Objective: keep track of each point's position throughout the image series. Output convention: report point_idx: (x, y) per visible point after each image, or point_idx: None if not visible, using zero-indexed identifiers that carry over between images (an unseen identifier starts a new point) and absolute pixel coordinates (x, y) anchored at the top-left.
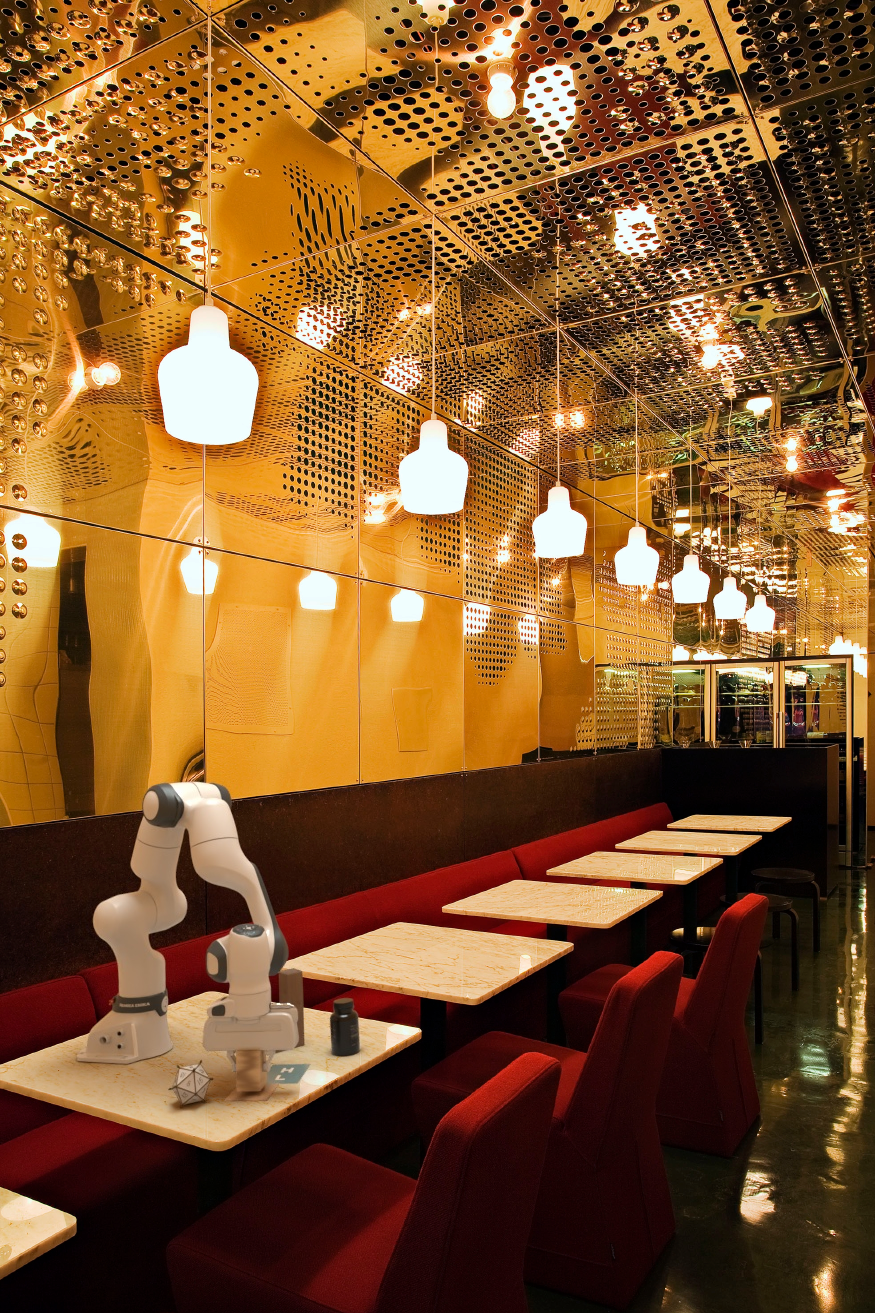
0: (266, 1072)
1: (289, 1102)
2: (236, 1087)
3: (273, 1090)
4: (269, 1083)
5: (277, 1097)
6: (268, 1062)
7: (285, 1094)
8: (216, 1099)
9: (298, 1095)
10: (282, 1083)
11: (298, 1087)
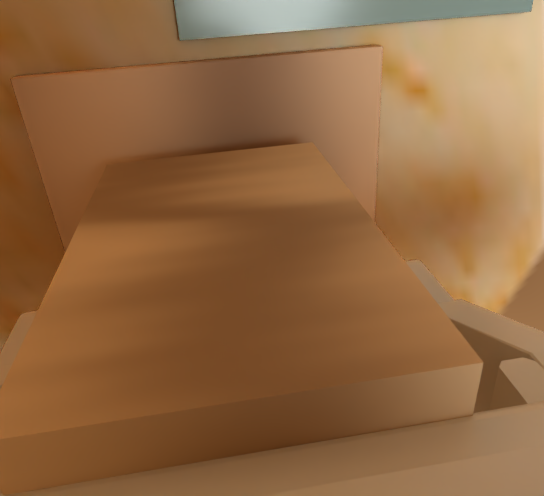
0: (334, 174)
1: (493, 307)
2: (41, 157)
3: (374, 193)
4: (291, 25)
5: (412, 252)
6: None
7: (455, 204)
8: (7, 321)
9: (538, 212)
10: (406, 17)
11: (533, 70)
